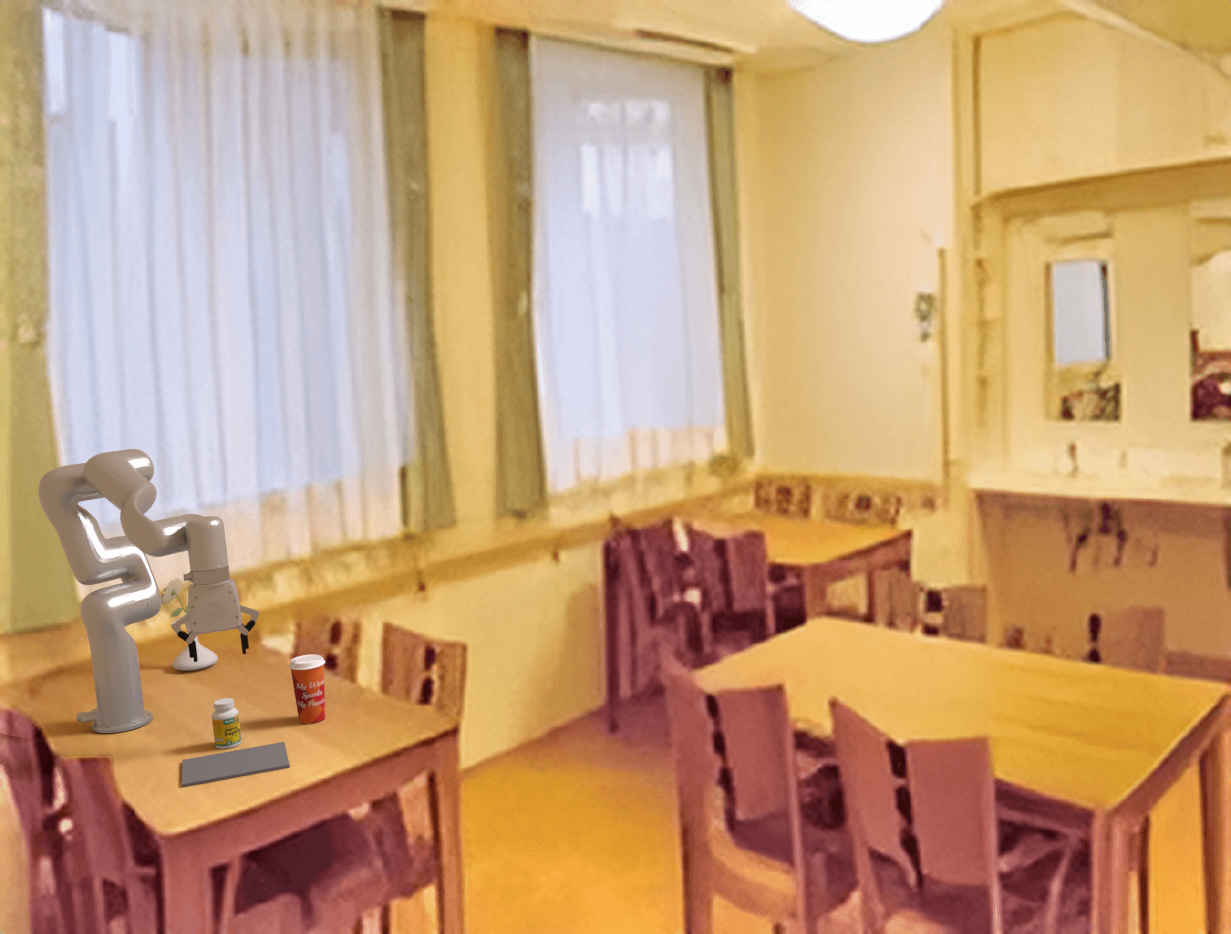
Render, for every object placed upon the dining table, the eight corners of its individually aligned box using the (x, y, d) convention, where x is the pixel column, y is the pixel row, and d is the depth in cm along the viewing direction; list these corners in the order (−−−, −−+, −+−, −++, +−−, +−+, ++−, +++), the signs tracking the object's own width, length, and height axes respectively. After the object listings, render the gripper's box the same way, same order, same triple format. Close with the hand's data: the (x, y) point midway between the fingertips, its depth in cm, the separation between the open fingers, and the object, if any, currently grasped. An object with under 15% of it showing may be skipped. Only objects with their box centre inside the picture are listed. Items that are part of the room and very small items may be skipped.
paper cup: (298, 728, 244) (292, 666, 242) (291, 718, 251) (285, 658, 249) (334, 720, 248) (328, 659, 246) (326, 711, 254) (320, 651, 253)
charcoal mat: (182, 787, 215) (181, 784, 215) (182, 762, 228) (182, 759, 228) (289, 767, 222) (289, 764, 221) (284, 744, 235) (284, 741, 235)
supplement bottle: (230, 738, 240) (226, 695, 239) (247, 742, 237) (242, 698, 236) (209, 747, 236) (204, 703, 234) (226, 751, 233) (221, 706, 232)
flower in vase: (202, 659, 304) (192, 569, 301) (227, 664, 297) (217, 572, 294) (158, 672, 294) (147, 579, 291) (183, 678, 287) (173, 583, 284)
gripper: (165, 585, 225) (175, 668, 227) (255, 573, 231) (264, 654, 233) (166, 579, 232) (176, 659, 234) (253, 567, 238) (262, 645, 240)
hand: (220, 656), depth 234 cm, fingers open, 9 cm apart
